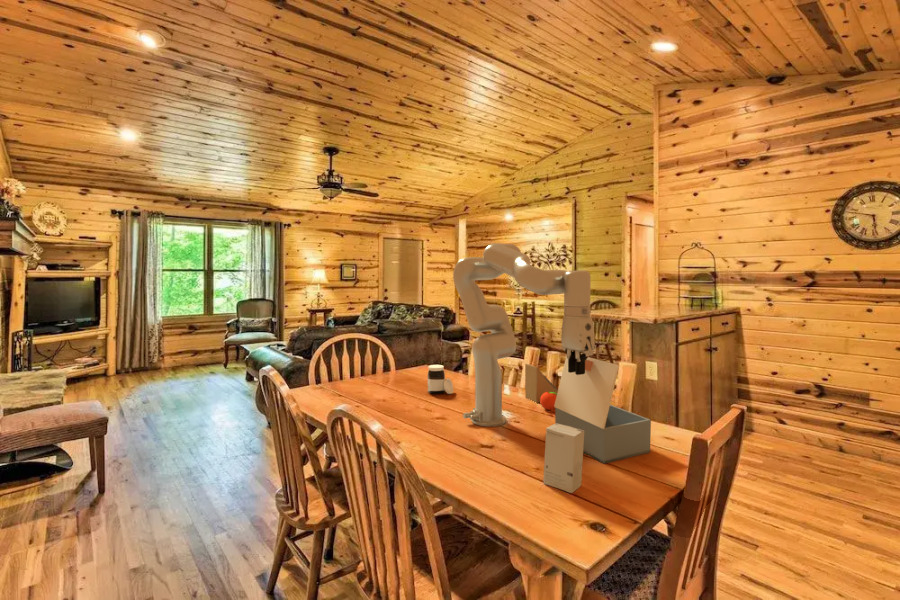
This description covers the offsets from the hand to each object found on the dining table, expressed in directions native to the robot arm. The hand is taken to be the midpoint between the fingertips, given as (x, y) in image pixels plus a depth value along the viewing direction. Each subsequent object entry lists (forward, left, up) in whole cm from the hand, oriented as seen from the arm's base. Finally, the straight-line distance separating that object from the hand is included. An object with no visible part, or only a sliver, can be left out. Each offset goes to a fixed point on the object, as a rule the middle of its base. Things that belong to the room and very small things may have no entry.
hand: (576, 372), depth 136 cm
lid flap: (+3, 0, -5) cm, 6 cm away
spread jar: (-12, +76, -24) cm, 81 cm away
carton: (+10, 0, -24) cm, 26 cm away
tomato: (+17, +35, -24) cm, 46 cm away
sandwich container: (+24, +48, -24) cm, 59 cm away
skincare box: (-17, -16, -24) cm, 34 cm away
